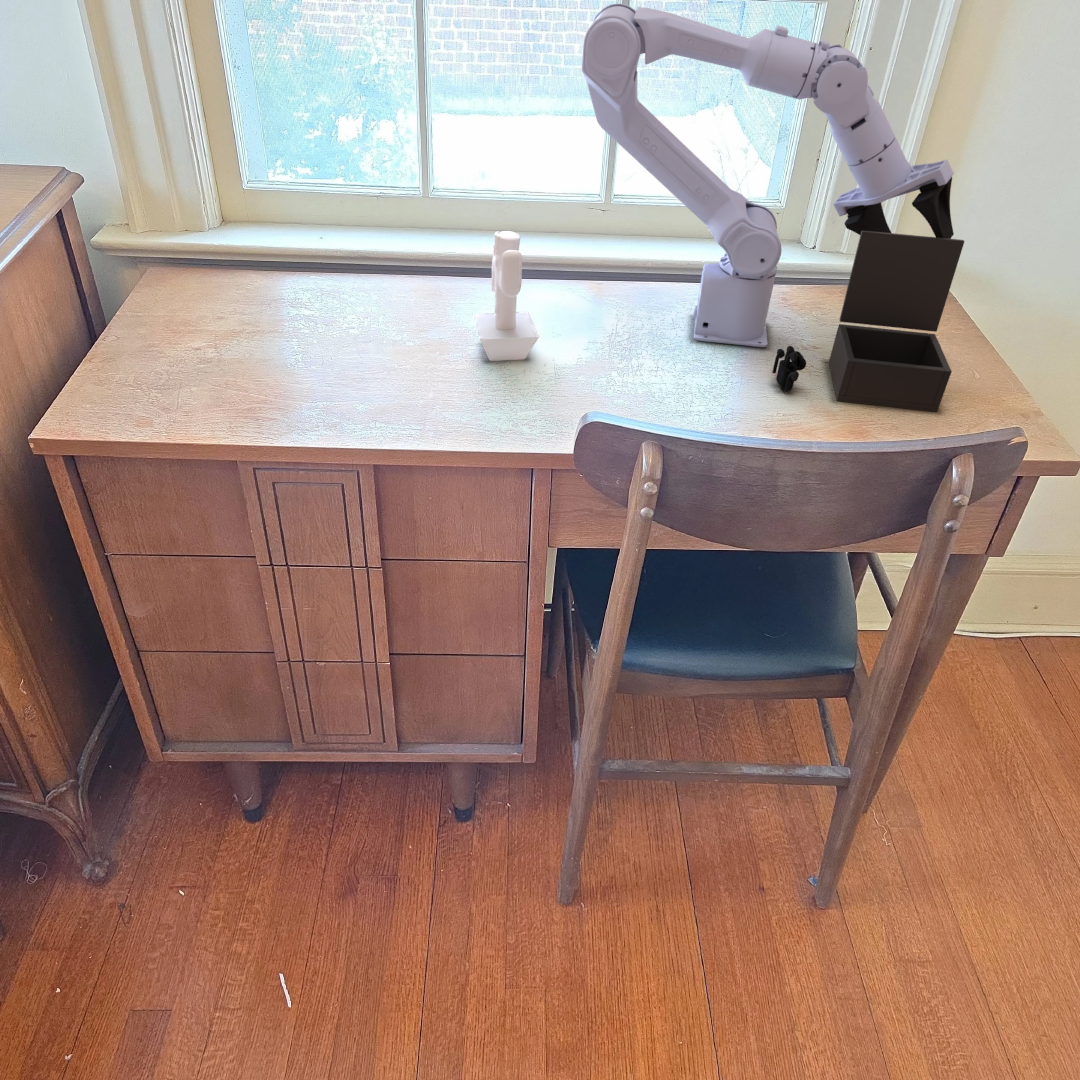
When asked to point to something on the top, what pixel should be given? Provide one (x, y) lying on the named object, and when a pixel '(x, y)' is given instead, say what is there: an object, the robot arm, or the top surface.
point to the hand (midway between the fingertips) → (918, 246)
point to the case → (888, 368)
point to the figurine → (506, 305)
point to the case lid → (900, 280)
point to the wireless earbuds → (788, 367)
